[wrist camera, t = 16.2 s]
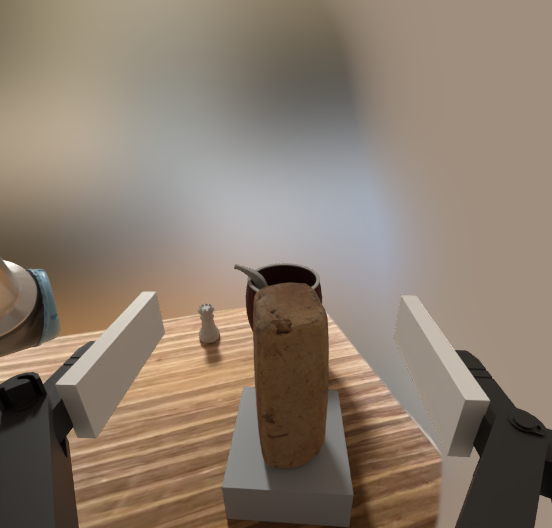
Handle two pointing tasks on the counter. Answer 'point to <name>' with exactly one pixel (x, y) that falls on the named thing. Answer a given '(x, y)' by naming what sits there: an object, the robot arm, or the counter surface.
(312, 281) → the mate gourd
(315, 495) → the grey base block
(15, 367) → the counter surface
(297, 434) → the block
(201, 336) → the rook chess piece
